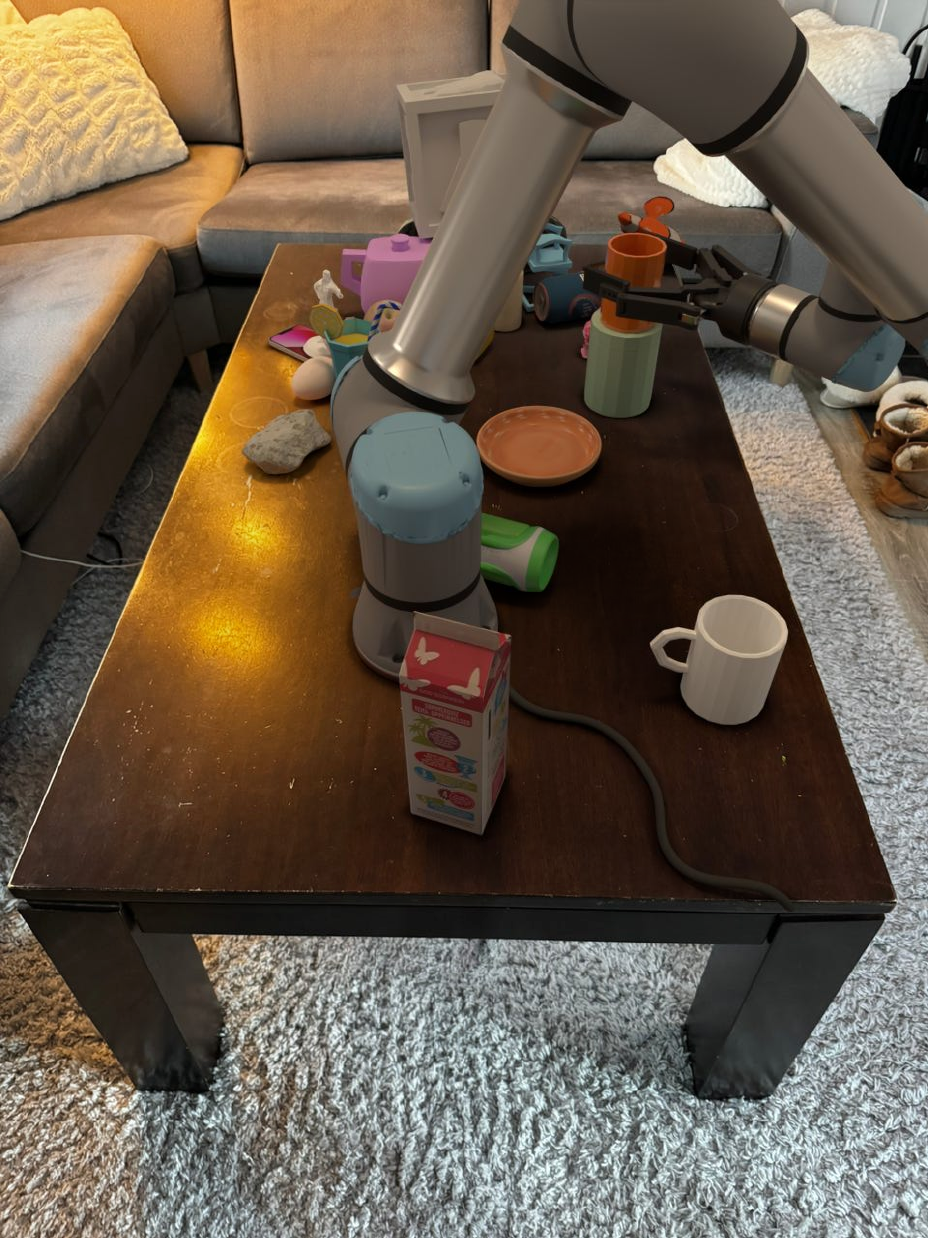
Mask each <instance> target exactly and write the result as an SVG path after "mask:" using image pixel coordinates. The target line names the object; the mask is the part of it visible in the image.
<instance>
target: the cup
mask: <svg viewBox="0 0 928 1238" xmlns="http://www.w3.org/2000/svg"><path fill="white" fill-rule="evenodd" d="M402 306H403V304H398V303H393V302H388V301H385V302H383V303H381V304H380V305H379V306H378V307H377V310H376V313H375V317H374V320H373V322H370V321H366V320H364V319H361V318H357V317H355V319H349V320H345V319H344V320H343V318H342V316H341V315H340V312H339V310H338V311H337V310H336V309H334V308H332V307H331V306H329V305H327V304H325V303H323V304H319V303H318V304H315V305H312V307H310V310H309V314H308V318H307V321H308V324H309V325H310V327H311V328H312V329H313V330H314V332H315V334H317V335H319V336H321V337H322V338H324V339H326V341H327V343H328V345H329V349H330V353H331V358H332V363H333V367H334V372H335V376H336V379H337V377H338V376H339V374H340V372H341V371H342V370H343V368H344V367H345V366H346V365H347V364H348V363H349V362H350V361H351V360H352V359H353V358H355V357H356V356H358V357H360V356H361V355H363V353H364V352H365V349H366V347H367V345H368V342H369V341H370V339H371V338H372V336H374V335H376V334H379V333H381V332H380V330H379V329H378V325H379V322H380V319H381V316H382V312H383V310H384V309H385V308H389V309H394V310H401V308H402Z"/></svg>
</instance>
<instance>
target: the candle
mask: <svg viewBox="0 0 928 1238" xmlns="http://www.w3.org/2000/svg"><path fill="white" fill-rule="evenodd" d="M523 286H524V273H523V271H522V273H521V275H520V276H519V278H518V280H517V282H516V284H515V286H514V288H513V290H512V292H511V294H510V295H509V297H508V299H507V301H506V303H505V305H504V307H503V309H502V311H501V313H500V314H499V316H498V318H497V320H496V322H495V324H494V331H497V332H503V333H505V332H512V331H516V330H517V329H519V328H520V327H521V325H522V319H523V318H522V317H523V314H522V313H523V304H522V295H523V294H524V292H523Z"/></svg>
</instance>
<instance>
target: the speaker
mask: <svg viewBox="0 0 928 1238" xmlns="http://www.w3.org/2000/svg"><path fill="white" fill-rule="evenodd" d="M559 544H560V543H559V538H558V536H557V535H556V534H554V533H553V532H551V531H549V530H547V529H545V528H543V527H541V526H538V525H536V526H535V525H534V526H530V525H529V524H526V523H523V522H519V521H516V520H512V519H507V518H504V517H499V516H496V515H492V514H489V513H486V512H482V513H481V575H482V577H483V579H484V580H487V581H491V582H493V583H498V584H501V585H505V586H508V587H514V588H516V589H517V590H519V591H521V592H527V593H528V592H530V593H541V592H542V591H545V589H546V587H547V586H548V584H549V582H550V580H551V578H552V575H553V573H554V570H555V567H556V564H557V559H558V555H559V554H558V553H559V548H560V547H559Z"/></svg>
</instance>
